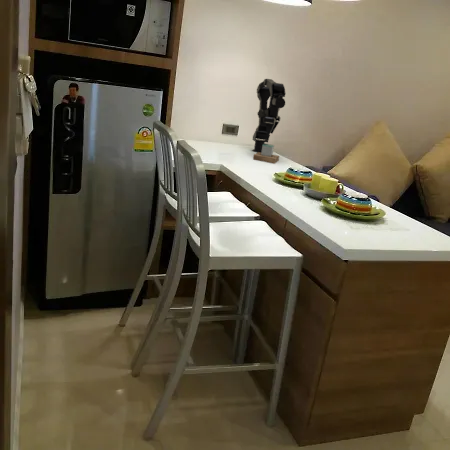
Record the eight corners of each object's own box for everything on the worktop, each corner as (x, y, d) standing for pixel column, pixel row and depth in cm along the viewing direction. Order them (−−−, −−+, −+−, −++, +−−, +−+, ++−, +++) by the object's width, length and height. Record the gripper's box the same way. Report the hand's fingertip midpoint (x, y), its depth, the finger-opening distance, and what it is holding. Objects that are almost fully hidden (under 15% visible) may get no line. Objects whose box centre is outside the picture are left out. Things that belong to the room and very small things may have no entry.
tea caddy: (262, 153, 290) (264, 143, 288) (272, 155, 289) (274, 145, 287) (260, 155, 285) (262, 144, 283) (270, 157, 283) (272, 146, 282)
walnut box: (257, 157, 295) (258, 152, 294) (278, 161, 292) (279, 155, 291) (252, 160, 284) (253, 154, 283) (274, 164, 281) (275, 158, 280)
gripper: (263, 103, 298) (259, 130, 303) (256, 104, 281) (252, 133, 286) (282, 106, 295) (278, 133, 300) (276, 107, 278) (271, 136, 283)
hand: (269, 134), depth 292 cm, fingers open, 9 cm apart
